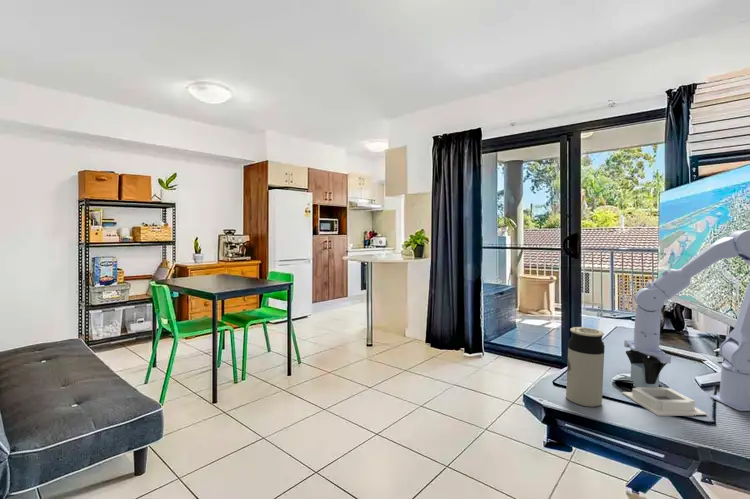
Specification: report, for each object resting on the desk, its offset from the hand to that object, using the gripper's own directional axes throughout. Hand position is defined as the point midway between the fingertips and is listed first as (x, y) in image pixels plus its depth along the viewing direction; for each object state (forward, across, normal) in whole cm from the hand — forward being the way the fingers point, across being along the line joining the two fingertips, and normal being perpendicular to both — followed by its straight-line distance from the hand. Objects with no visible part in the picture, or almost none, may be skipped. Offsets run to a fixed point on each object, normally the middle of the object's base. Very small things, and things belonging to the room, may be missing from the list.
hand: (644, 380), depth 105 cm
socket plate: (+2, +10, -3) cm, 11 cm away
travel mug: (+2, +8, -22) cm, 24 cm away
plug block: (+2, 0, 0) cm, 2 cm away
